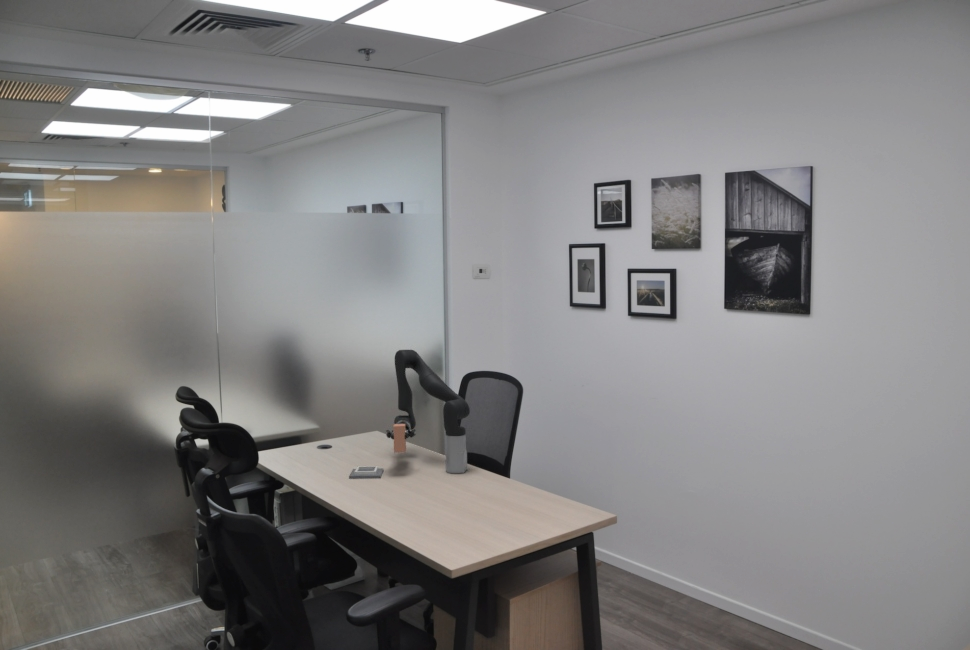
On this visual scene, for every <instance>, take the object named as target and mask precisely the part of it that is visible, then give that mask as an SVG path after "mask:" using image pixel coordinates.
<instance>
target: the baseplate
mask: <svg viewBox="0 0 970 650" xmlns="http://www.w3.org/2000/svg"><path fill="white" fill-rule="evenodd" d="M383 473H384V468H381V467H380V468H379V465H365V466H364V465H359V466H358V465H357V466H356V468H352V470H351V472H350V474H349V475H348V479H350V480H352V479H353V480H354V479H355V480H358V479H363V480H364V479H382V476H383Z"/></svg>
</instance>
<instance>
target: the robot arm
mask: <svg viewBox="0 0 970 650" xmlns="http://www.w3.org/2000/svg"><path fill="white" fill-rule="evenodd" d="M394 368H395V375H396V382H397V392H398V393H397V394H398V395H397V401H398V402H397V409H398V410H399V411H402V412H406V413H407V415H406V414H405V415H402V414H401V415H400V414H399V415H397V416H395V418H394V421H393V425H394V424H405V428H406V433H405V439H406V440H407V439H409V438H411V439H412V438H414V437H415V436H416V434H417V433H416V429H415V428H416V425H417V422H416V418H415V413H414V409H413V391H412V388H411V386H410V383H409V381H408V379H407V375H406V370H407V369H412V370H413V371H414V372H415V373H416V374H417V375H418V382H419V384H420V386H421V387H422V389H423V390H424V391H425V392H426V393H427V394H428V395H430V396H431V397H433V398H436V399H438V400H440V401H442V402H444V405H443V409H442V410H443V411H442V415H443V427H444V431H445V472H447V473H448V474H464V473H465V472H466V471H468V449H467V447H466V446H467V445H466V444H467V442H466V441H467V440H466V439H467V438H466V437H467V436H466V434H467V433H466V428H465V427H464V426H460V425H459V421H458V420H463V419H465V418H467V417H468V416H470V412H471V409H470V405H469V404H468V402H467V401H466V400H465V399H464V398H463V397H462V396H460V395H459V394H458V393H456V392H455V391H454V390H453V389H452V388H451V387H449V386H448V384H447V383H445V381H443V380H442V378H441V377H440V376H439V375H438V374H437V373H435V372H434V371H433V370H432V369H431V367H430V366H429V365H428V364H427V363H426V362H425V361H424V360H423V357H421V356H420V354H419V353H418V352H417V351H415V350H414V349H398V350H397V351H396V352H395V355H394ZM385 434H386V435H385V436H386V437H387V438H388V439H392V441H394V431H393V429H392V430H389V429H387V430H385Z"/></svg>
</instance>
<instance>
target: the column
mask: <svg viewBox="0 0 970 650" xmlns="http://www.w3.org/2000/svg"><path fill="white" fill-rule="evenodd" d="M392 428H393V429H392V430H393V431H394V440H393V453H394V454H395V453H396V454H397V453H398V454H399V453H401V454H402V453H406V451H407V439H405V433H406V428H405V424H394V423H393V426H392Z"/></svg>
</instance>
